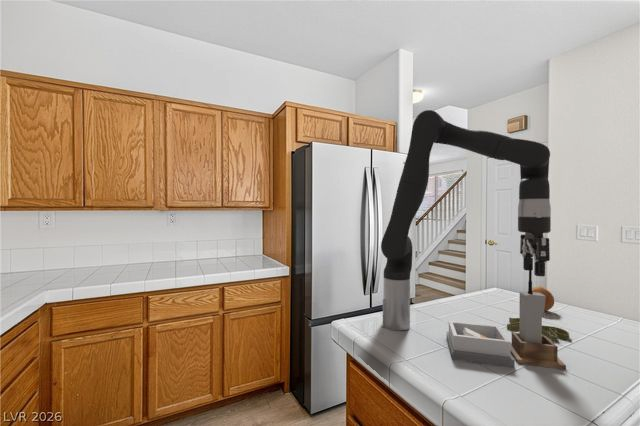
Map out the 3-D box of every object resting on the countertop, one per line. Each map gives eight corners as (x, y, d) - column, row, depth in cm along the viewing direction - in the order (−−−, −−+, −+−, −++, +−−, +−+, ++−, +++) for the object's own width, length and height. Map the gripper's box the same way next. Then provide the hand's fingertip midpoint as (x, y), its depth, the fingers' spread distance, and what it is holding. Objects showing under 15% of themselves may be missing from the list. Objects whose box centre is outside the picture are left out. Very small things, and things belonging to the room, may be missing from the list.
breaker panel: (452, 359, 83) (452, 337, 83) (446, 337, 98) (446, 319, 98) (514, 367, 79) (514, 344, 79) (498, 343, 93) (498, 324, 93)
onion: (520, 306, 131) (520, 283, 131) (545, 307, 130) (545, 284, 129) (532, 313, 121) (533, 289, 121) (560, 315, 120) (560, 290, 120)
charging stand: (517, 363, 81) (517, 344, 81) (505, 345, 92) (505, 329, 92) (566, 369, 78) (566, 350, 78) (547, 350, 88) (547, 333, 88)
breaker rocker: (464, 336, 87) (467, 331, 87) (462, 331, 91) (464, 326, 91) (490, 348, 85) (492, 343, 85) (486, 342, 89) (488, 338, 89)
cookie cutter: (500, 328, 106) (500, 323, 106) (512, 320, 114) (512, 315, 114) (565, 346, 93) (565, 339, 93) (573, 335, 101) (573, 329, 101)
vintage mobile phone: (545, 356, 83) (546, 265, 83) (525, 355, 84) (526, 265, 84) (538, 350, 86) (538, 263, 86) (519, 349, 87) (519, 262, 87)
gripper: (510, 215, 93) (510, 267, 93) (527, 215, 79) (527, 277, 79) (539, 215, 91) (539, 269, 91) (561, 215, 77) (561, 279, 77)
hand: (533, 273), depth 85 cm, fingers open, 8 cm apart
